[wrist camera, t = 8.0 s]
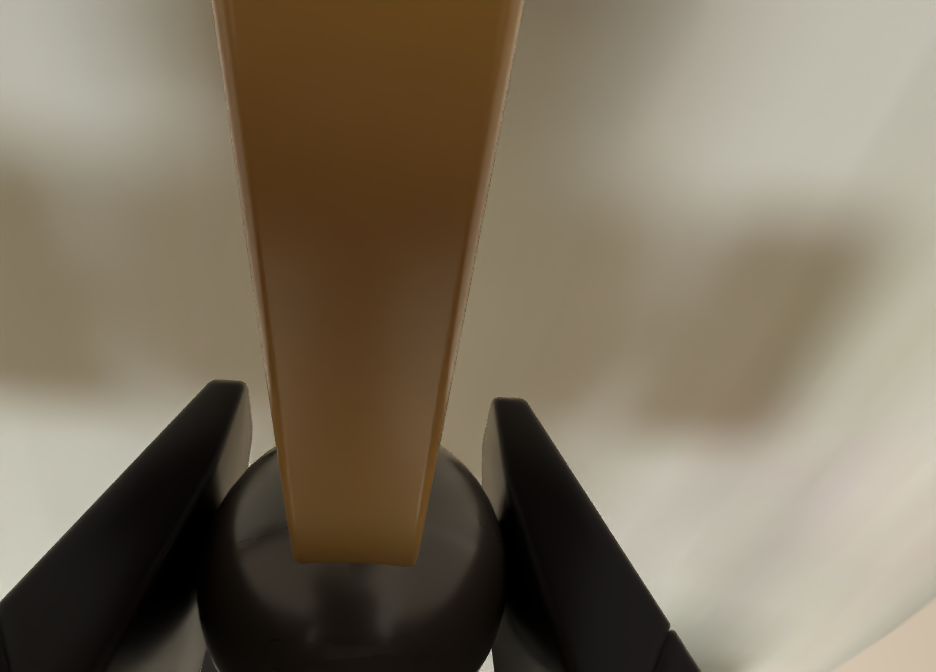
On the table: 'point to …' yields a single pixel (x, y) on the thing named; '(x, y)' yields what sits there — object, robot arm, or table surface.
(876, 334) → the table surface
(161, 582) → the robot arm
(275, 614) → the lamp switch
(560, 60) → the table surface
